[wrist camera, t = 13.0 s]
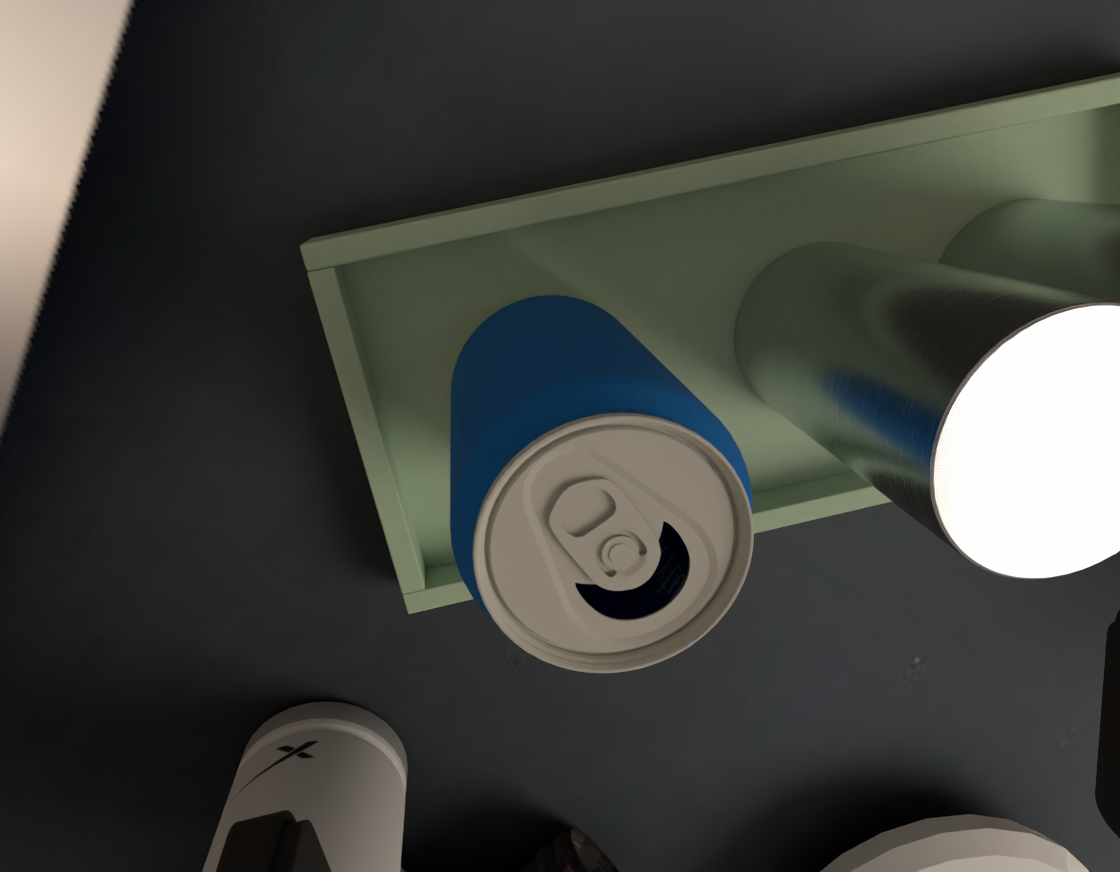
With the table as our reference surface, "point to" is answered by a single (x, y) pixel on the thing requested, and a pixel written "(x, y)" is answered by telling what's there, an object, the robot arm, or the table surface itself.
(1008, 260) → the can
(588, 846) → the camera
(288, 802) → the travel mug
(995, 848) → the vase
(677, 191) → the tray
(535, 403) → the beverage can
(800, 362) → the can
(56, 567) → the table surface
